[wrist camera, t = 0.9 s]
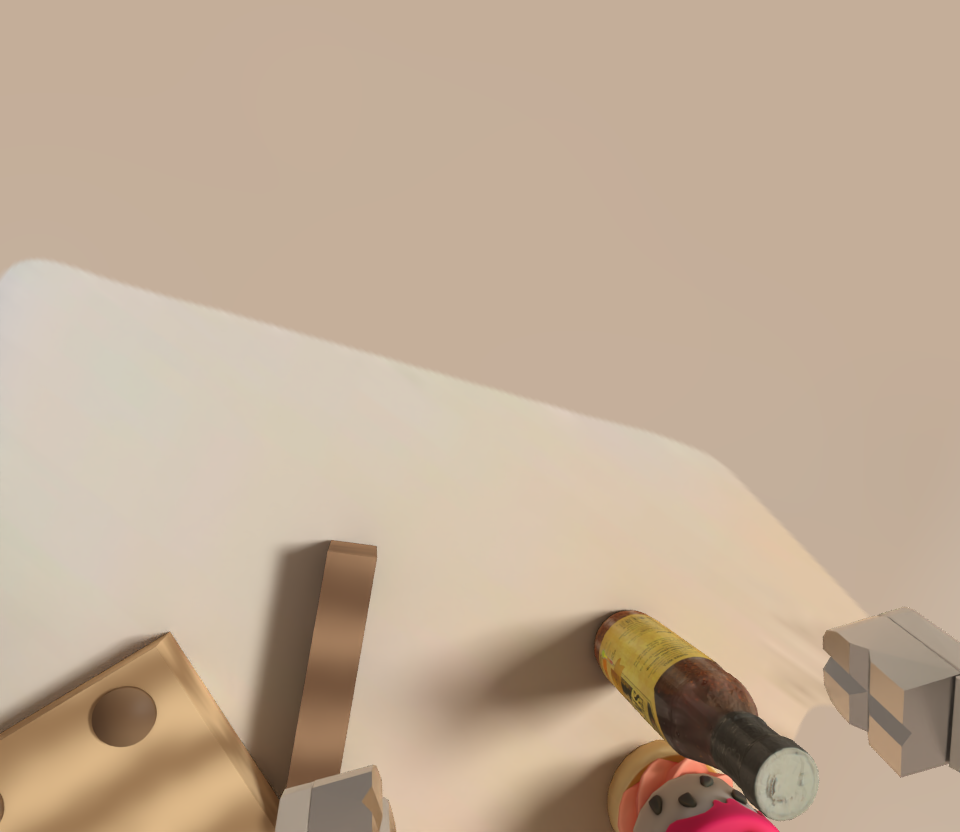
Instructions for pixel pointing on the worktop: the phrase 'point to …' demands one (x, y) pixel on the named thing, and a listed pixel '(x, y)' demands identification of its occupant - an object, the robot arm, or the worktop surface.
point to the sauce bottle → (704, 713)
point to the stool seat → (133, 757)
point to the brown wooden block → (333, 662)
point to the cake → (677, 796)
